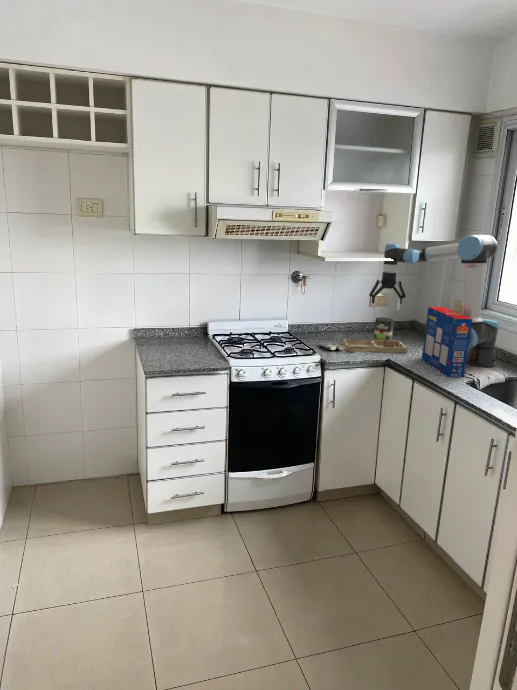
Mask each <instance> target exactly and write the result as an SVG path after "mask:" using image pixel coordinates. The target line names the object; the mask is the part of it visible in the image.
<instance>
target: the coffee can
mask: <svg viewBox="0 0 517 690" xmlns="http://www.w3.org/2000/svg"><path fill="white" fill-rule="evenodd" d="M394 323H395V319H393V318H389V317H376V318H375V324H374V325H375V326H374V334H373V340H393V339H392V338H393V331H394Z"/></svg>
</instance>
